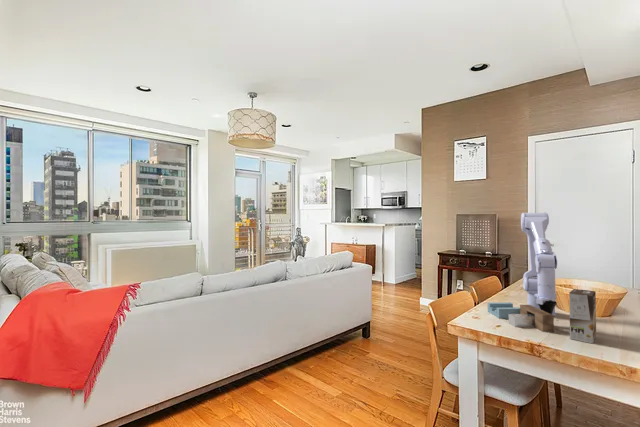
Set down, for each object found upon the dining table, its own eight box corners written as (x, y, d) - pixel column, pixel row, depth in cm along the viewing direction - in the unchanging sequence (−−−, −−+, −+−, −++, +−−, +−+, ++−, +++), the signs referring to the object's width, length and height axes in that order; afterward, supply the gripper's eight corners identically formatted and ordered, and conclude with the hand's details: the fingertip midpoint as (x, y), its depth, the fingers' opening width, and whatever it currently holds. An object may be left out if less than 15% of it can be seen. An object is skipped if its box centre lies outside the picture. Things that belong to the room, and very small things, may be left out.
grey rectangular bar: (539, 323, 128) (538, 313, 128) (545, 327, 124) (545, 316, 124) (508, 324, 128) (508, 314, 128) (514, 327, 124) (514, 317, 124)
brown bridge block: (530, 319, 133) (529, 304, 133) (553, 331, 119) (553, 315, 119) (520, 319, 133) (520, 304, 133) (542, 331, 119) (542, 315, 119)
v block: (510, 311, 144) (510, 302, 144) (523, 318, 134) (523, 308, 134) (487, 311, 144) (487, 302, 144) (499, 318, 134) (499, 308, 134)
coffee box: (593, 344, 107) (592, 295, 107) (569, 339, 112) (568, 292, 112) (596, 336, 114) (595, 291, 114) (573, 332, 118) (573, 288, 118)
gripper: (541, 280, 133) (542, 313, 133) (527, 285, 125) (527, 320, 124) (562, 283, 128) (563, 317, 127) (548, 288, 119) (549, 325, 119)
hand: (547, 319), depth 126 cm, fingers closed
